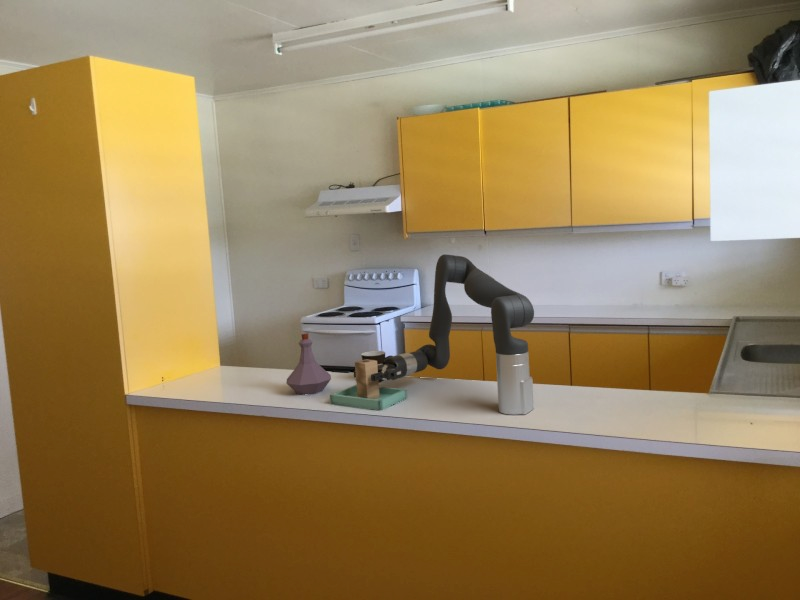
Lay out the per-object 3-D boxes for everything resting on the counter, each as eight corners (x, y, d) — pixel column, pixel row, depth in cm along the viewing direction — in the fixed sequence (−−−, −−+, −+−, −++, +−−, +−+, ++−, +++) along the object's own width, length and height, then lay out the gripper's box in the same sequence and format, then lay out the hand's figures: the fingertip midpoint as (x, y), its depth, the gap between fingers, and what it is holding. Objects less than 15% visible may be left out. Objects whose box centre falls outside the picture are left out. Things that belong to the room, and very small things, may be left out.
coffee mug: (358, 383, 240) (356, 355, 239) (371, 377, 248) (368, 350, 246) (387, 384, 235) (385, 356, 233) (398, 378, 242) (397, 351, 241)
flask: (340, 384, 239) (335, 329, 237) (323, 397, 224) (318, 338, 221) (297, 385, 243) (292, 330, 241) (278, 397, 228) (272, 339, 225)
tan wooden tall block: (379, 397, 215) (377, 360, 213) (367, 401, 211) (364, 363, 210) (369, 395, 218) (366, 358, 217) (357, 399, 215) (354, 362, 214)
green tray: (407, 398, 215) (406, 389, 215) (380, 410, 204) (380, 401, 203) (357, 392, 226) (357, 384, 226) (330, 403, 215) (329, 394, 215)
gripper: (385, 352, 229) (347, 362, 218) (414, 357, 218) (376, 367, 207) (386, 374, 229) (349, 385, 219) (416, 379, 219) (378, 391, 208)
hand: (362, 376), depth 213 cm, fingers open, 8 cm apart
